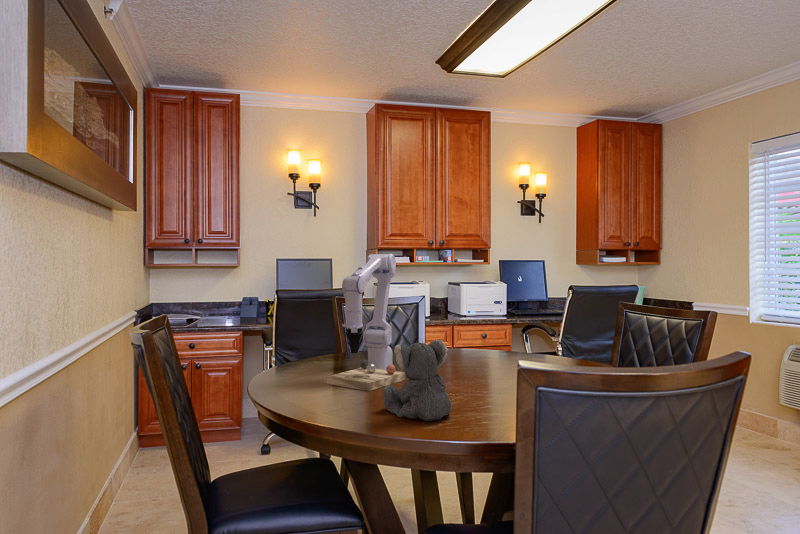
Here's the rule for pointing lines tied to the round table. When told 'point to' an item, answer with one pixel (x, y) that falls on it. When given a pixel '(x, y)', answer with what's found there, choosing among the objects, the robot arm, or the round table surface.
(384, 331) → the robot arm
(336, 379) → the plate
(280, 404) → the round table surface
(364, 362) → the black rubber ball
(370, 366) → the steel ball
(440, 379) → the koala plush
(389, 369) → the brick-red wooden ball
